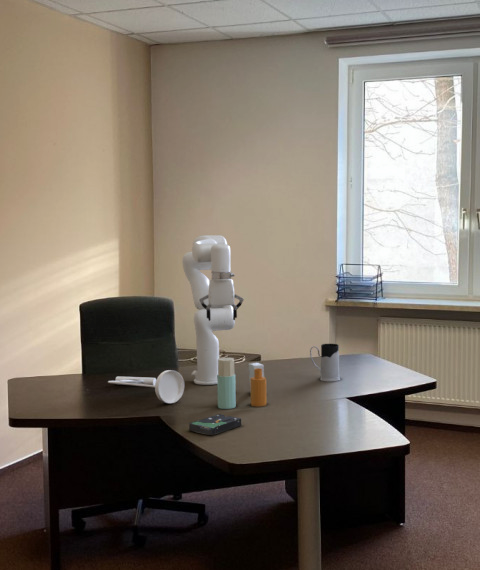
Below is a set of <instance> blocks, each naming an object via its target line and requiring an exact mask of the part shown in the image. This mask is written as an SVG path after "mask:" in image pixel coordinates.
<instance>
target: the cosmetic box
mask: <svg viewBox="0 0 480 570" xmlns="http://www.w3.org/2000/svg"><path fill="white" fill-rule="evenodd" d="M257 368H260V369H262V377H265V369H264V368H265V367H264V364H262V363H259V362H251V363H248V379H249V394H251V383H250V378H252V377H254V369H257Z"/></svg>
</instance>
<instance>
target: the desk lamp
mask: <svg viewBox="0 0 480 570" xmlns="http://www.w3.org/2000/svg"><path fill="white" fill-rule="evenodd" d="M107 383H108V384H114V385H118V386H119V385H120V386H134V387H135V386H136V387H146V388H154V392H155V395H156V397H157V399H158V400H159V401H161V402H162V403H165V404H175V403H176V402H178V401H179V400H180V399H182V396H183V394H184V391H185V380H184V378H183V375H182V374H181V373H180V372H178V371H177V370H173V369H172V370H171V369H170V370H169V369H168V370H164V371H162V372H160V374H159V375H158V376H157V378H156V377H144V376H143V377H142V376H116V377H115V380H108V381H107Z"/></svg>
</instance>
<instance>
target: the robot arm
mask: <svg viewBox="0 0 480 570" xmlns="http://www.w3.org/2000/svg"><path fill="white" fill-rule="evenodd" d="M191 248H192V249H191V251H188V252H186V253H184V255H183V257H182V268H183V272H184V275H185V277H186V279H187V281H188V282H189V285H190V289H191V294H192V301H193V305H194V307H195V309H197V311H195V313H194V315H193V322H194V323H193V324H194V329H195V338H196V370H193V371H192V372H191V376H194V379H193V383H194V384H195V385H199V386H200V385H201V386H210V385H217V375H218V359H219V358H220V341H219V338H218V337H217V336H216V335H215V334H214V332H217V331H229V330H232V329H233V328H234V327H235V326H236V319H237V318H238V309H239V308H240V307H241V306H242V304H243V302H244V300H245V299H244V297H243V296H240V295H238V294H236V293H235V285H234V280H233V279H232V278H233V277H235V273H234V272H232V270H231V269H232V268H231V267H232V265H231V264H232V263H231V261H232V259H231V247H230V245H228V241H227V239H226V238H225V236H224V235H219V234H216V235H215V234H213V235H209V234H207V235H199V236H196V237H195V239H193V242H192V247H191ZM201 271H210V274H211V275H210V276H211V277H210V278H208V277H207V275H205V274H204V273H203V272H201ZM236 299H237V300H239V301H238V302H237V304H235V300H236Z"/></svg>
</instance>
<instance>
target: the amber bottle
mask: <svg viewBox="0 0 480 570" xmlns="http://www.w3.org/2000/svg"><path fill="white" fill-rule="evenodd" d="M250 383H251V393H250V406H252V407H257V408H258V407H264V406H267V378H266V377H265V376H264V377H262V369H260V368H257V369H254V377H252V378H250ZM250 383H249V384H250Z"/></svg>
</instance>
